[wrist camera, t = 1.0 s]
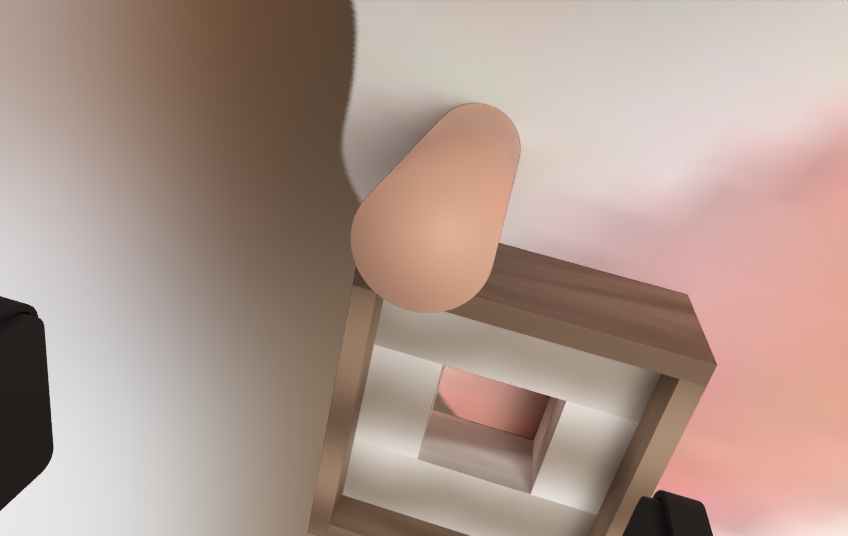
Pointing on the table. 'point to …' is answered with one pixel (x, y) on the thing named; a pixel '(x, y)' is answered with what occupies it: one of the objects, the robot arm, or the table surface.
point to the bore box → (523, 367)
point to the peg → (439, 213)
